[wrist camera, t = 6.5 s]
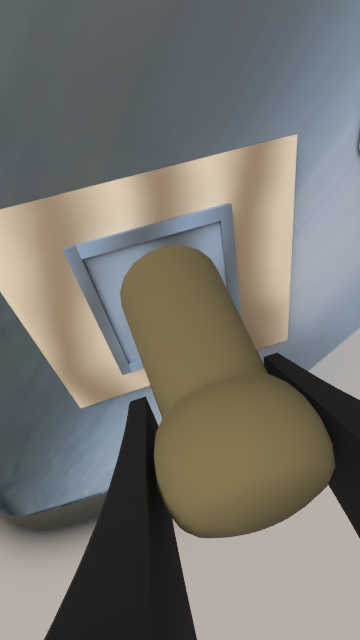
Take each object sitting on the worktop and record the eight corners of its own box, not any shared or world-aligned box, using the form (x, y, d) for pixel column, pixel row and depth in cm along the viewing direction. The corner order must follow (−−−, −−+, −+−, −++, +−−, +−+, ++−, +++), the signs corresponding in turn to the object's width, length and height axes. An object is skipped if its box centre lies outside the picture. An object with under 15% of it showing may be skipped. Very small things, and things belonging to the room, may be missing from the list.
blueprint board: (289, 135, 15) (303, 133, 14) (282, 335, 24) (291, 343, 23) (-41, 219, 14) (-54, 224, 13) (81, 401, 22) (79, 413, 21)
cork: (206, 333, 17) (305, 529, 9) (117, 334, 15) (137, 583, 7) (233, 250, 14) (436, 442, 5) (123, 238, 12) (176, 502, 4)
